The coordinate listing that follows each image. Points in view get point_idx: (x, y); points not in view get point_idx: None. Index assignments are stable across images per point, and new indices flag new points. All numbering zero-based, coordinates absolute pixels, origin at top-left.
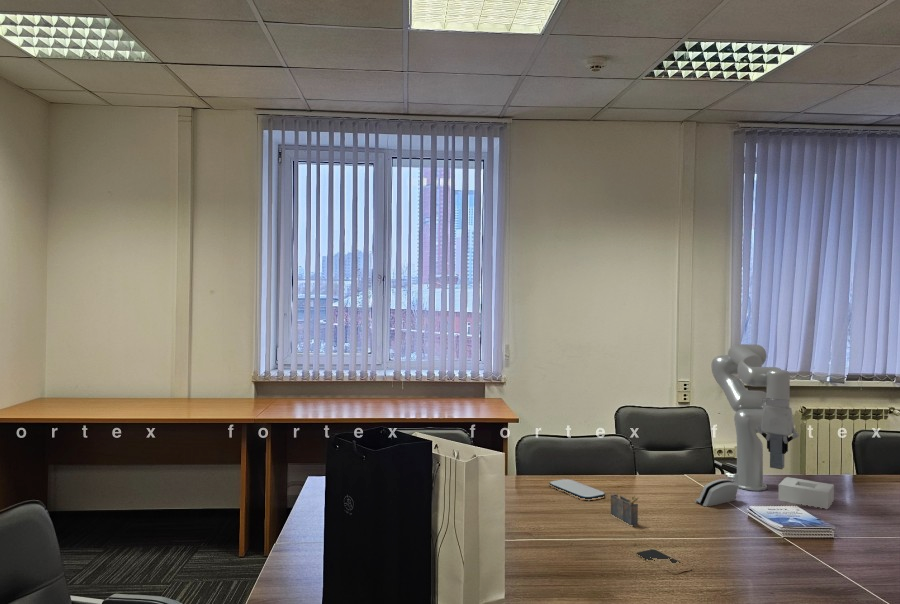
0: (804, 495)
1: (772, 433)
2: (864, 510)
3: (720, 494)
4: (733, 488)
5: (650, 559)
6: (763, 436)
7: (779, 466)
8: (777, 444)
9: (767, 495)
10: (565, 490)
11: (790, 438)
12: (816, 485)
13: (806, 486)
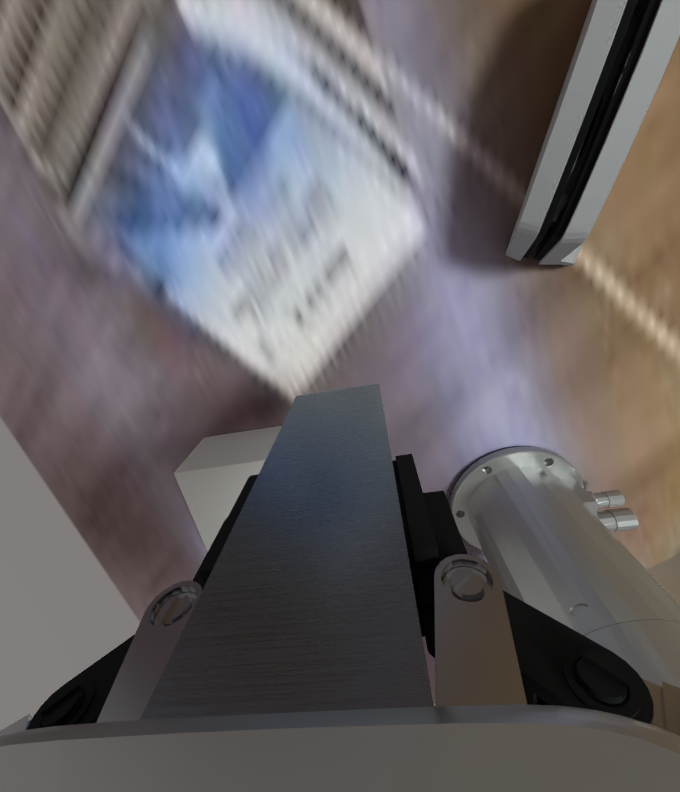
0: (267, 444)
1: (353, 719)
2: (140, 514)
3: (576, 52)
4: (532, 182)
5: None
6: (572, 634)
7: (310, 401)
8: (293, 524)
9: (421, 442)
10: None
11: (69, 702)
12: None
13: None
